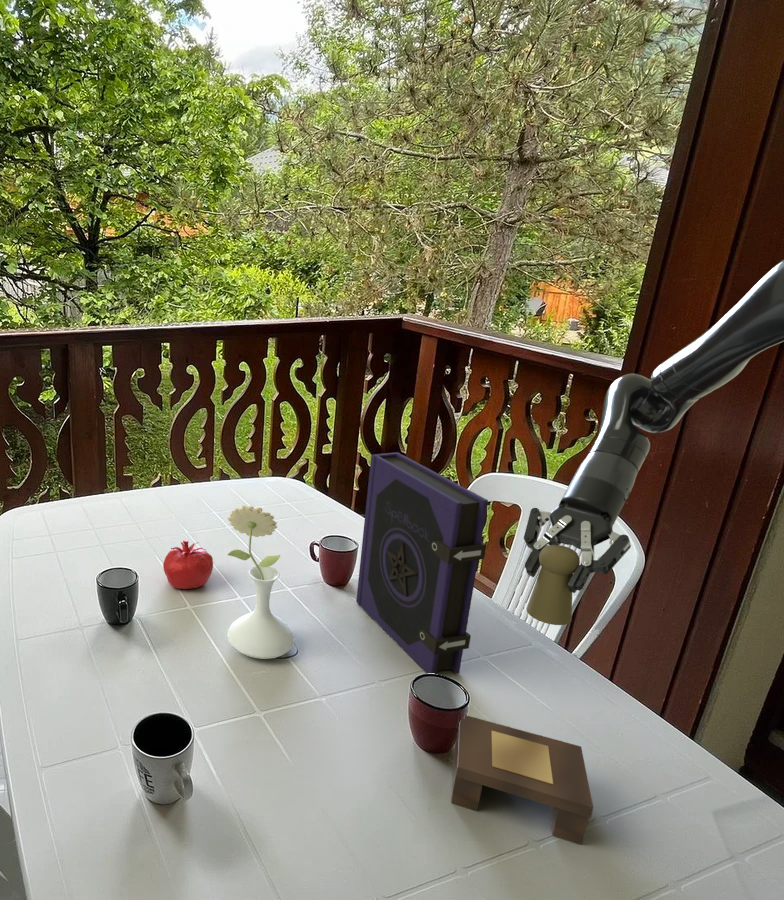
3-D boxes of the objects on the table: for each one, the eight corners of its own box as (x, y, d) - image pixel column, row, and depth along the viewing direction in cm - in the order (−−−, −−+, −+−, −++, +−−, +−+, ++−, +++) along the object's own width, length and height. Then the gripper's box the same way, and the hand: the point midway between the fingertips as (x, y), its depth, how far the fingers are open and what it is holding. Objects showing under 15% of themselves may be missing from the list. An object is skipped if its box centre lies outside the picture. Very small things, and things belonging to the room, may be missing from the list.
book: (354, 602, 122) (369, 454, 112) (383, 598, 123) (400, 451, 114) (430, 680, 100) (456, 505, 91) (464, 674, 102) (493, 501, 92)
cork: (571, 629, 93) (585, 562, 90) (525, 618, 96) (536, 552, 92) (571, 610, 98) (584, 545, 95) (527, 599, 101) (538, 536, 97)
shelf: (571, 784, 81) (581, 745, 79) (582, 848, 72) (593, 807, 70) (453, 749, 86) (460, 712, 85) (450, 806, 78) (457, 766, 76)
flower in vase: (305, 641, 110) (315, 507, 102) (273, 674, 101) (281, 532, 93) (241, 615, 117) (246, 489, 110) (206, 645, 109) (208, 510, 101)
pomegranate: (213, 595, 124) (214, 552, 121) (161, 594, 124) (161, 551, 121) (212, 570, 133) (213, 530, 130) (164, 569, 134) (164, 529, 131)
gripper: (545, 463, 100) (495, 553, 97) (651, 489, 89) (599, 591, 86) (554, 487, 105) (507, 574, 102) (656, 514, 94) (607, 612, 91)
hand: (550, 581), depth 94 cm, fingers closed on cork, 5 cm apart
